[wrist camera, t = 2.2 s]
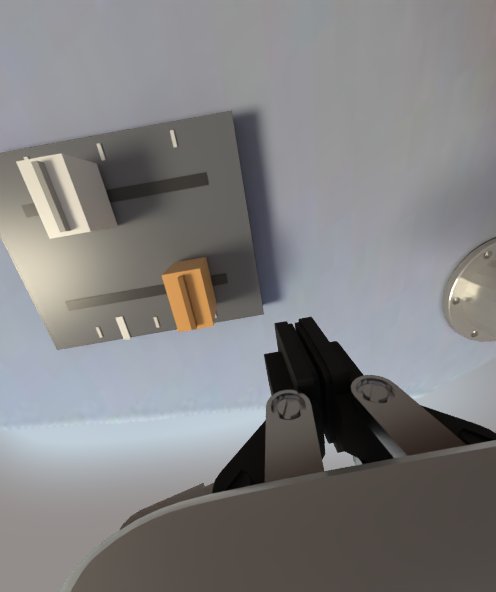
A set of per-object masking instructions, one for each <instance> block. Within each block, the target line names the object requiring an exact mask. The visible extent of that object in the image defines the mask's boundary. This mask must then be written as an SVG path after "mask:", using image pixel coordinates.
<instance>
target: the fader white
mask: <svg viewBox="0 0 496 592" xmlns="http://www.w3.org/2000/svg"><path fill="white" fill-rule="evenodd" d="M16 163H17V165H18V167H19V170H20V172H21V174H22V177H23V179H24V181H25V183H26V186H27V188H28V190H29V193H30V195H31V197H32V200H33V202H34V204H35V206H36V209H37V211H38V213H39V216H40V218H41V220H42V223H43V225H44V227H45V229H46V232H47V234H48V236H49V239H52V238H57V237H63V236H69V235H74V234H80V233H85V232H91V231H96V230H101V229H106V228H111V227H116V226H118V225H117V222H116V219H115V216H114V213H113V210H112V208H111V205H110V202H109V199H108V196H107V193H106V190H105V187H104V184H103V181H102V178H101V175H100V172H99V169H98V166H97V163H93V162H90V161H86V160H83V159H79V158H76V157H72V156H69V155H65V154H62V153H60V154H55V155H49V156H44V157H38V158H33V159H27V160H22V161H16Z"/></svg>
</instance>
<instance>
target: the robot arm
mask: <svg viewBox="0 0 496 592" xmlns="http://www.w3.org/2000/svg"><path fill="white" fill-rule="evenodd" d="M443 312H444V315H445V319H446V320H447V322H448V324H449V326H450V327H451V328H452V329H453V330H455V331H456V332H457V333H459V334H461V335H462V336H464V337H466V338H468V339H471V340H475V341H480V342H482V341H496V238H495V239H492V240H490V241H488V242H486V243H484V244H483V245H481V246H479V247H478V248H477V249H475V250H474V251H472V252H471V253H470V254H469V255H468V256H467V257H466V258H465V259H464V260H463V261H462V262H461V263H460V264H459V265H458V267H457V268H456V269H455V271H454V272H453V274H452V276H451V277H450V279H449V281H448V283H447V286H446V289H445V292H444V298H443ZM275 331H276V338H277V345H278V352H274V353H268V354H264V358H265V364H266V370H267V375H268V381H269V386H270V390H271V395H272V396H271V397H270V398H269V400H268V401H267V405H266V420H265V422H264V423H263V424H262V425H261V426H260V427H259V429H258V430H257V431H256V432H255V433H254V434H253V436H252V437H251V438H250V439H249V440H248V441H247V442H246V443H245V445H244V446H243V447H242V448H241V449H240V450H239V452H238V453H237V454H236V455H235V456H234V457H233V459H232V460H231V461H230V462H229V463H228V464H227V466H226V467H225V468H224V469H223V470H222V471H221V473H220V474H219V475H218V477H217V478H216V480H215V482H214V483H212V484H210V485H208V486H206V487H205V486H204V483H202V484H200V485H197V486H195V487H193V488H191V489H188V490H186V491H184V492H182V493H179V494H177V495H174V496H172V497H170V498H167V499H165V500H163V501H161V502H158V503H156V504H154V505H151V506H149V507H147V508H144V509H142V510H140V511H138V512H137V513H135V514H134V515H132V516H131V517H130V518H129V519H128V520H127V521H126V522H125V523H124V524H123V525H122V527H121V528H120V530H119V531H118V532H116V533H114V534H113V535H111V536H110V537H109V538H107V539H106V540H105V541H103V542H102V543H101V544H100V545H98V546H97V547H96V548H95V549H94V550H92V551H91V552H90V553H89V554H88V555H87V556H86V557H85V558H84V559H83V560H82V561H81V562H80V563H79V564H78V565H77V567H76V568H75V569H74V570H73V572H72V573H71V574H70V576H69V577H68V578H67V580H66V581H65V583H64V584H63V586H62V587H61V589H60V590H59V592H496V433H494V432H492V431H491V430H489V429H487V428H484V427H482V426H480V425H477V424H474V423H471V422H468V421H466V420H463V419H460V418H457V417H454V416H451V415H448V414H444V413H442V412H439V411H436V410H433V409H430V408H427V407H424V406H421V405H419V404H418V403H417V402H416V401H414V400H413V399H412V398H411V397H410V396H409V395H407V394H406V393H405V392H404V391H403V390H402V389H400V388H399V387H398V386H397V385H396V384H394V383H393V382H391V381H390V380H388V379H386V378H383V377H380V376H375V375H365V376H364V375H363V374H362V373H361V371H360V370H359V369H358V368H357V366H356V365H355V364H354V362H353V361H352V360H351V358H350V357H349V356H348V355H347V353H346V352H345V351H344V349H343V348H342V347H341V346H340V344H339V343H338V342H337V341H334V342H329V341H328V339H327V338H326V336H325V335H324V334H323V332H322V331H321V329H320V328H319V327H318V325H317V324H316V322H315V321H314V320H313V318H312V317H307V318H302V319H299V322H297V323H295V328H294V327H293V325H292V324H288V323H287V321H285V322H280V323H275ZM324 434H325V436H326V439H327V441H328V443H334V446H335V448H336V450H337V452H343V451H345V452H347V453H349V454H351V455H353V459H354V462H355V464H356V466H351V467H345V468H340V469H335V470H329V471H324V467H323V462H322V459H323V457H324V455H325V445H324V444H325V441H324Z"/></svg>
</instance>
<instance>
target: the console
mask: <svg viewBox="0 0 496 592" xmlns="http://www.w3.org/2000/svg"><path fill="white" fill-rule="evenodd" d="M60 153H62V154H65V155H69V156H72V157H76V158H79V159H83V160H86V161H90V162H93V163H97V166H98V169H99V172H100V175H101V178H102V181H103V184H104V187H105V190H106V193H107V196H108V199H109V202H110V205H111V208H112V210H113V213H114V216H115V219H116V222H117V225H118V226H116V227H111V228H106V229H101V230H96V231H91V232H85V233H80V234H74V235H69V236H63V237H57V238H52V239H49V236H48V234H47V232H46V229H45V227H44V225H43V223H42V220H41V218H40V216H39V213H38V211H37V209H36V206H35V204H34V202H33V200H32V197H31V195H30V193H29V190H28V188H27V186H26V183H25V181H24V179H23V177H22V174H21V172H20V170H19V167H18V165H17V163H16V161H22V160H27V159H33V158H38V157H44V156H49V155H55V154H60ZM0 237H1V239H2V241H3V243H4V245H5V247H6V249H7V251H8V253H9V254H10V256H11V258H12V260H13V262H14V264H15V266H16V268H17V270H18V272H19V274H20V276H21V278H22V280H23V282H24V284H25V286H26V288H27V290H28V292H29V294H30V296H31V298H32V300H33V302H34V304H35V306H36V308H37V310H38V312H39V314H40V316H41V318H42V320H43V322H44V324H45V326H46V328H47V330H48V332H49V334H50V336H51V338H52V340H53V342H54V344H55V346H56V348H57V350H60V349H66V348H72V347H78V346H83V345H89V344H95V343H101V342H106V341H112V340H118V339H124V340H126V339H131V337H135V336H141V335H147V334H153V333H158V332H164V331H170V330H176V329H177V326H176V323H175V319H174V316H173V312H172V309H171V306H170V302H169V299H168V296H167V292H166V289H165V286H164V282H163V279H162V274H163V273H164V272H165V271H166V270H167V269H168V268H169V267H170V266H171V265H172V264H173V263H174V262H179V261H185V260H190V259H196V258H202V257H206V259H207V263H208V268H209V272H210V276H211V281H212V285H213V290H214V294H215V298H216V303H217V309H216V315H215V321H214V323H216V322H222V321H228V320H233V319H239V318H245V317H251V316H256V315H262V314H264V312H263V305H262V299H261V293H260V287H259V280H258V274H257V268H256V261H255V255H254V249H253V243H252V236H251V230H250V224H249V217H248V211H247V205H246V199H245V192H244V186H243V180H242V173H241V167H240V161H239V155H238V148H237V142H236V136H235V129H234V123H233V117H232V111H227V112H222V113H216V114H211V115H205V116H200V117H194V118H189V119H183V120H178V121H172V122H167V123H161V124H156V125H150V126H145V127H139V128H134V129H128V130H123V131H117V132H112V133H107V134H101V135H96V136H90V137H85V138H79V139H74V140H68V141H63V142H57V143H52V144H46V145H41V146H35V147H30V148H24V149H19V150H13V151H8V152H2V153H0Z"/></svg>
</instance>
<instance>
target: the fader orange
mask: <svg viewBox="0 0 496 592" xmlns="http://www.w3.org/2000/svg"><path fill="white" fill-rule="evenodd" d="M162 279H163V282H164V286H165V289H166V292H167V296H168V299H169V302H170V306H171V309H172V312H173V316H174V319H175V323H176V326H177V329H178V332H182V331H188V330H194V329H199V328H205V327H211V326H214V321H215V315H216V309H217V303H216V298H215V294H214V290H213V285H212V281H211V276H210V272H209V268H208V263H207V259H206V257H202V258H196V259H190V260H185V261H179V262H174V263H173V264H172V265H171V266H170V267H169V268H168V269H167V270H166V271H165V272H164V273H163V274H162Z"/></svg>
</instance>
